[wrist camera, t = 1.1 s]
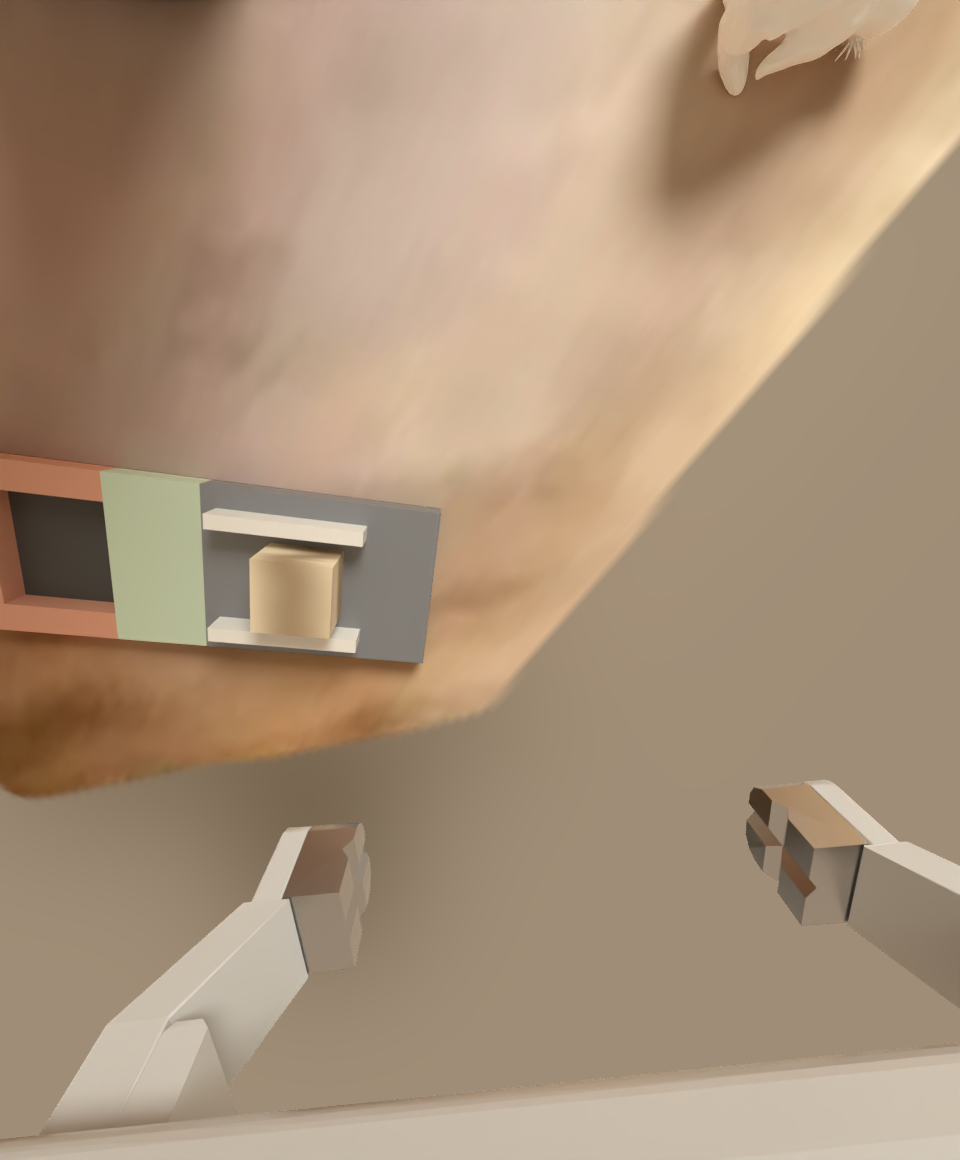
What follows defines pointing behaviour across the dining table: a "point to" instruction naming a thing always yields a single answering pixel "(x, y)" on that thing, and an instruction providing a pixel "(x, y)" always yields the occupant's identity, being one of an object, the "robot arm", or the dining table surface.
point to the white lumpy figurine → (798, 31)
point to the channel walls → (290, 529)
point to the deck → (206, 557)
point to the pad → (155, 555)
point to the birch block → (295, 590)
